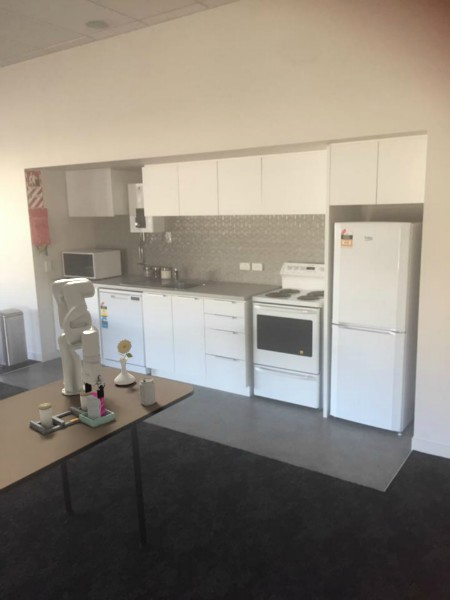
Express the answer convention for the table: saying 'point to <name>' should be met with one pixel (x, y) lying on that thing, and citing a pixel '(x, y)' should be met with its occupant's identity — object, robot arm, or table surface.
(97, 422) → the tray
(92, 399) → the supplement box
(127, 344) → the flower in vase
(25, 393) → the table surface
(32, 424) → the clip holder
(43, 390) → the table surface
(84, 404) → the cylinder
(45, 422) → the fuse
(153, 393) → the can
